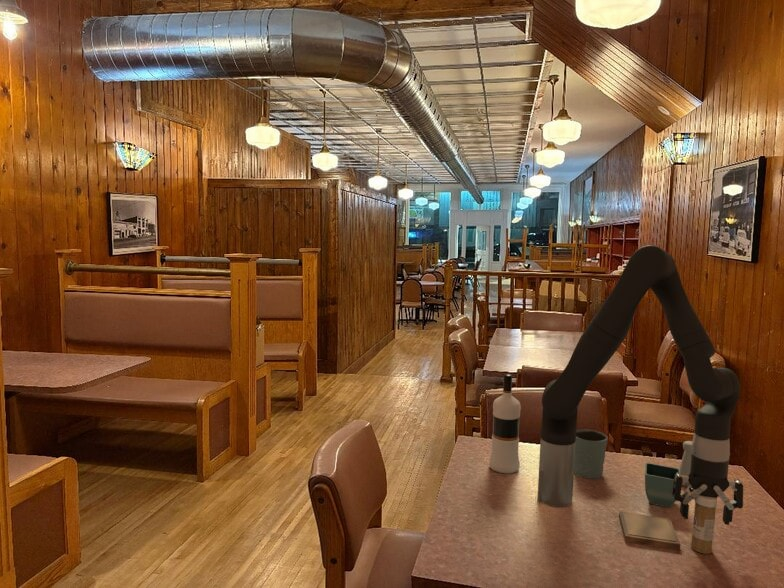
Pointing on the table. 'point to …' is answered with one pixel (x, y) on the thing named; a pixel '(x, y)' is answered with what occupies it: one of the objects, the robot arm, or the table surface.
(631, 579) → the table surface
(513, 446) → the vodka
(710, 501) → the sprinkles bottle
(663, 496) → the flower pot
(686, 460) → the salt shaker
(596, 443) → the green round cup
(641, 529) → the brown rectangular tray
